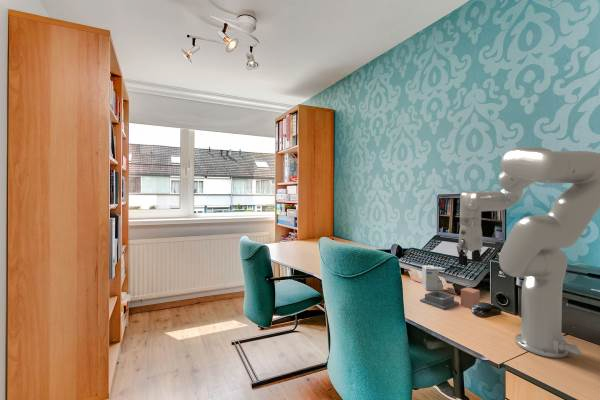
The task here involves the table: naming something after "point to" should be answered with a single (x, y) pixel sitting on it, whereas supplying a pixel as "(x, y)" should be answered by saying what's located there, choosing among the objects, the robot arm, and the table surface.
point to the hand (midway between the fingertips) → (469, 263)
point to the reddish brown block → (469, 297)
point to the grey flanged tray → (439, 300)
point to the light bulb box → (431, 277)
